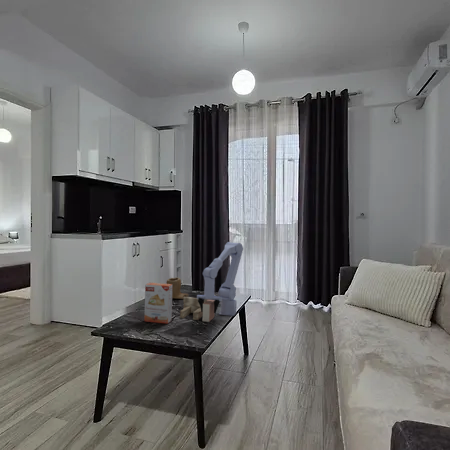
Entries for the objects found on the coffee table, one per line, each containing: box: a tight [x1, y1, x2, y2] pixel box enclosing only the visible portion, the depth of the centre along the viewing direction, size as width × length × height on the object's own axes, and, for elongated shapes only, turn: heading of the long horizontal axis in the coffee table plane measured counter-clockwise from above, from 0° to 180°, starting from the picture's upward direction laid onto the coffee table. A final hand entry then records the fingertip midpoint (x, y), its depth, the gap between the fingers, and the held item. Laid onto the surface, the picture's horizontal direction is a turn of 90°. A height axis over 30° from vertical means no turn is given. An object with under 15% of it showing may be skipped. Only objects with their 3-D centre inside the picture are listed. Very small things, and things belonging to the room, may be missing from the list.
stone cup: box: [165, 276, 189, 300], centre depth 230 cm, size 15×12×15 cm
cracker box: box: [143, 282, 173, 325], centre depth 177 cm, size 14×6×21 cm, turn 79°
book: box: [202, 300, 216, 323], centre depth 184 cm, size 4×10×10 cm, turn 165°
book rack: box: [179, 296, 208, 321], centre depth 189 cm, size 16×14×9 cm
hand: (208, 312), depth 184 cm, fingers open, 7 cm apart
